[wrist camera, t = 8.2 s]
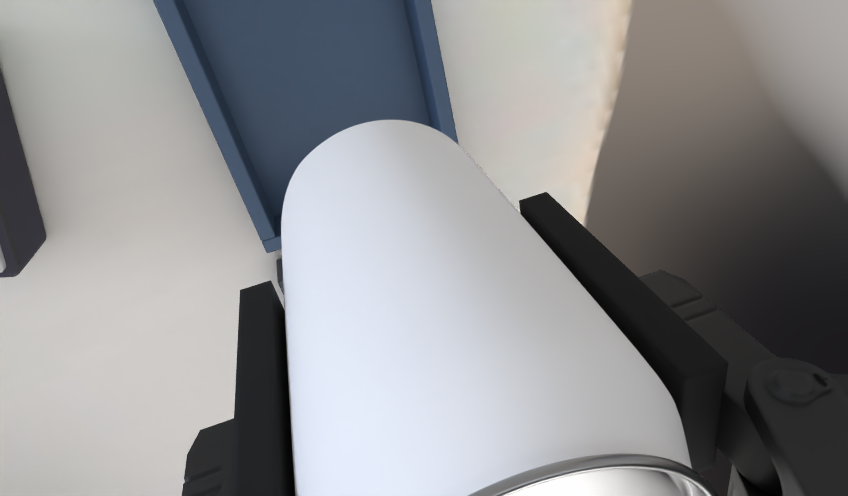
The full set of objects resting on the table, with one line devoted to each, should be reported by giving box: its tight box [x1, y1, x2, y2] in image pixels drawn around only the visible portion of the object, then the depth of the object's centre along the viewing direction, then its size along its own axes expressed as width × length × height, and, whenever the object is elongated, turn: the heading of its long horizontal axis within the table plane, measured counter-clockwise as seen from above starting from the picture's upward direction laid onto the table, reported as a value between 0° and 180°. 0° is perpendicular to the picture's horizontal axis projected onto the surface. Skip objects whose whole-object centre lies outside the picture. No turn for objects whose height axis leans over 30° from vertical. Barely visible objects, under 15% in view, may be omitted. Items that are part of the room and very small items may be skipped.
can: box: [281, 120, 717, 496], centre depth 13 cm, size 6×6×12 cm
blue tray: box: [153, 0, 458, 253], centre depth 27 cm, size 16×12×3 cm
